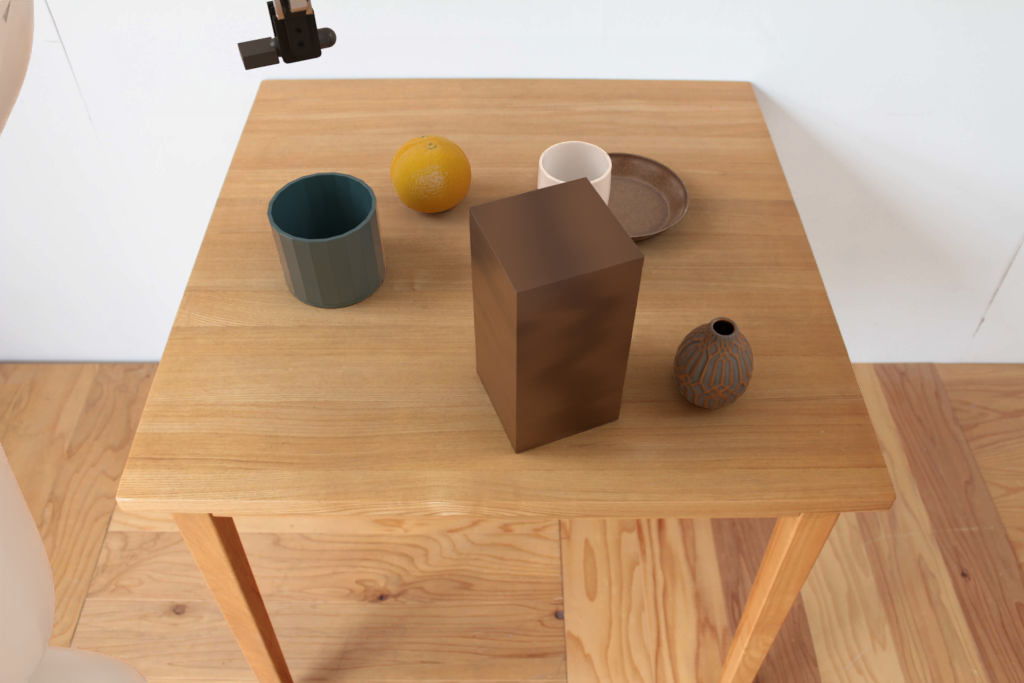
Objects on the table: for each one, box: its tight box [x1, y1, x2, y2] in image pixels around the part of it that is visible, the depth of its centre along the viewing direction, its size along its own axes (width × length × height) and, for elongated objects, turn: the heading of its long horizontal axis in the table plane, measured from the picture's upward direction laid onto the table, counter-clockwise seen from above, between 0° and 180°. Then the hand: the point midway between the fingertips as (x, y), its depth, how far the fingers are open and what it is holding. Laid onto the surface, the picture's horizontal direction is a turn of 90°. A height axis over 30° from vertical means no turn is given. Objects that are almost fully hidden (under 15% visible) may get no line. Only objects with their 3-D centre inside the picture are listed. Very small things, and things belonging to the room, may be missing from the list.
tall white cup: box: [536, 140, 612, 206], centre depth 83 cm, size 7×7×15 cm
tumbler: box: [266, 171, 387, 309], centre depth 86 cm, size 10×10×9 cm
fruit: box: [389, 134, 472, 214], centre depth 94 cm, size 9×8×8 cm
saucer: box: [606, 151, 690, 242], centre depth 95 cm, size 15×15×3 cm
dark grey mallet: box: [236, 26, 338, 71], centre depth 70 cm, size 8×2×2 cm, turn 112°
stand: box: [468, 177, 645, 455], centre depth 71 cm, size 10×10×20 cm
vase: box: [672, 316, 755, 409], centre depth 76 cm, size 7×7×9 cm
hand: (299, 50), depth 71 cm, fingers closed on dark grey mallet, 1 cm apart
